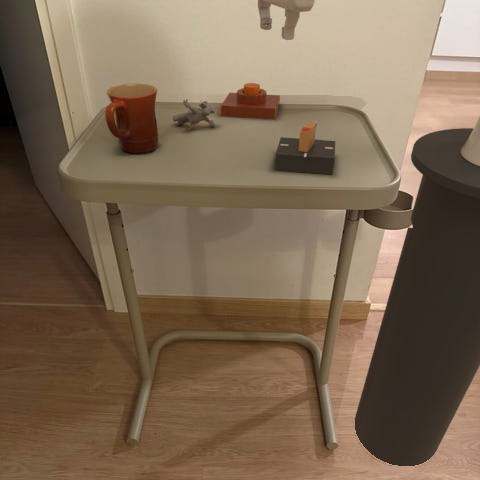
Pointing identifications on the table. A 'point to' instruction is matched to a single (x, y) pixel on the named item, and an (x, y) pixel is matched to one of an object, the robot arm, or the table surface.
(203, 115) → the grey branched piece
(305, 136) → the tan upright tile
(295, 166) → the panel
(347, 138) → the table surface
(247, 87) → the button
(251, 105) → the button box
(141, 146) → the mug
